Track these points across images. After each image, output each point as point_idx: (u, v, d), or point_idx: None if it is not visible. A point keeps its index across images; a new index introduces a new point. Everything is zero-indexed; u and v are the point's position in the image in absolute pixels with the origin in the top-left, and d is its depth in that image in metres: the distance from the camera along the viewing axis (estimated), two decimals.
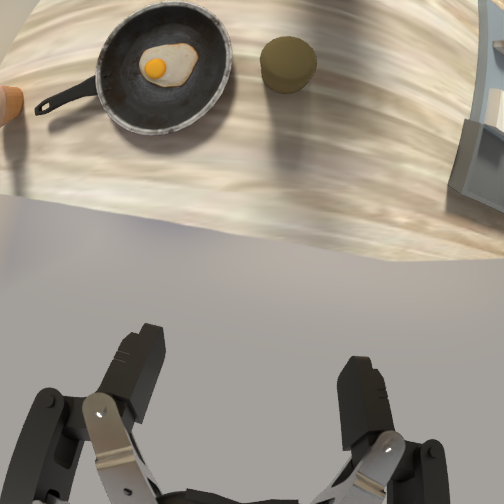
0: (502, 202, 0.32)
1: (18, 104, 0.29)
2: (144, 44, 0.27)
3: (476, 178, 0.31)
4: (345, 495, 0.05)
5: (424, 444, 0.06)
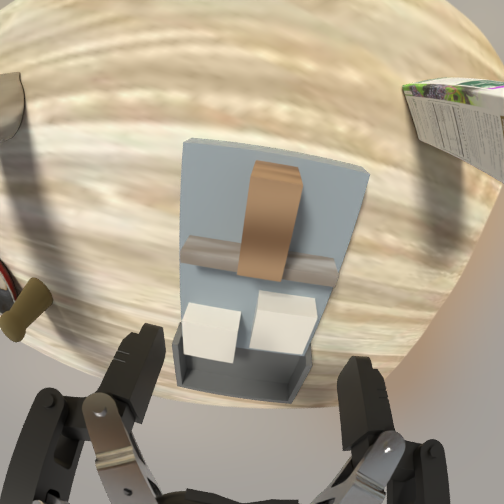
0: (268, 380, 0.41)
1: None
2: None
3: (214, 366, 0.40)
4: (345, 495, 0.05)
5: (424, 444, 0.06)
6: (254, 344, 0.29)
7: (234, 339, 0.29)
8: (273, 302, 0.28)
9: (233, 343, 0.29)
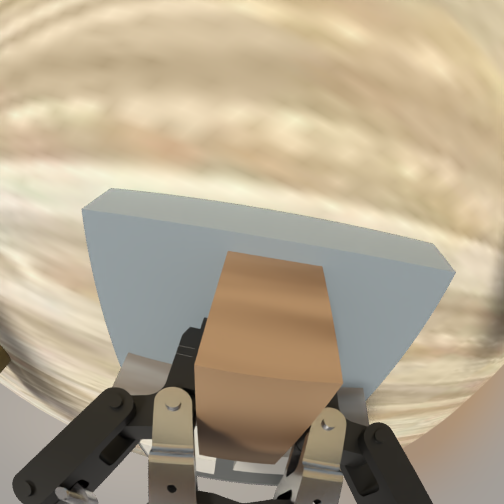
0: None
1: None
2: None
3: None
4: (299, 487, 0.05)
5: (369, 426, 0.07)
6: (239, 469, 0.17)
7: (212, 464, 0.17)
8: None
9: (211, 466, 0.17)
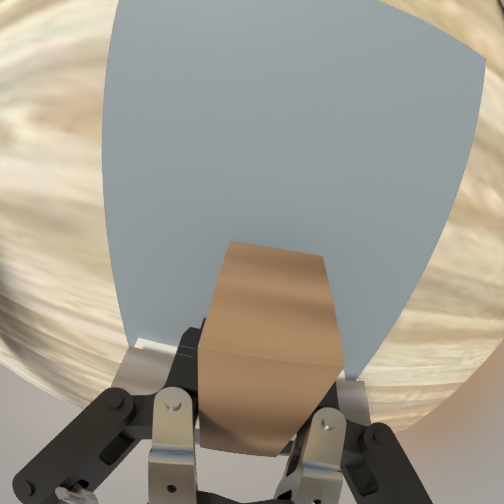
0: None
1: None
2: None
3: None
4: (299, 487, 0.05)
5: (369, 426, 0.07)
6: None
7: None
8: None
9: None
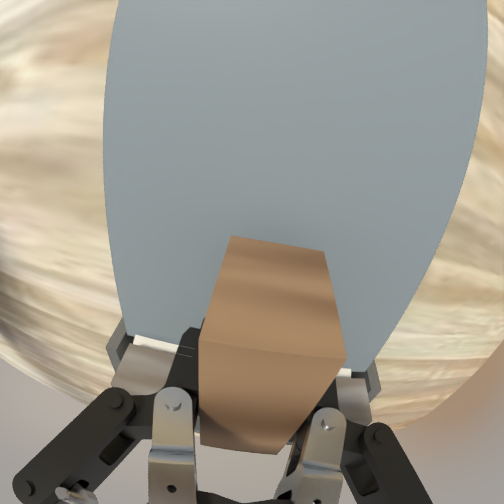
0: None
1: None
2: None
3: None
4: (299, 487, 0.05)
5: (369, 427, 0.07)
6: None
7: None
8: None
9: None
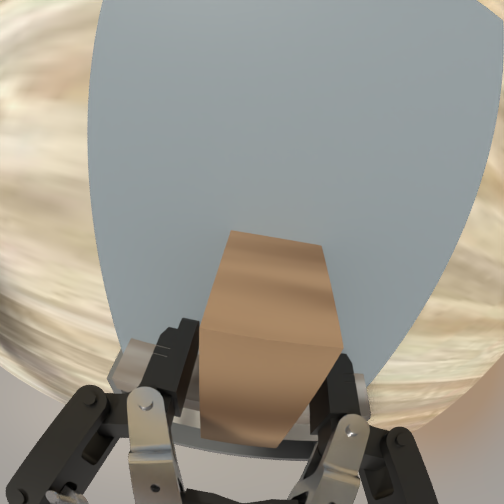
0: None
1: None
2: None
3: None
4: (317, 489, 0.05)
5: (391, 431, 0.07)
6: None
7: None
8: None
9: None
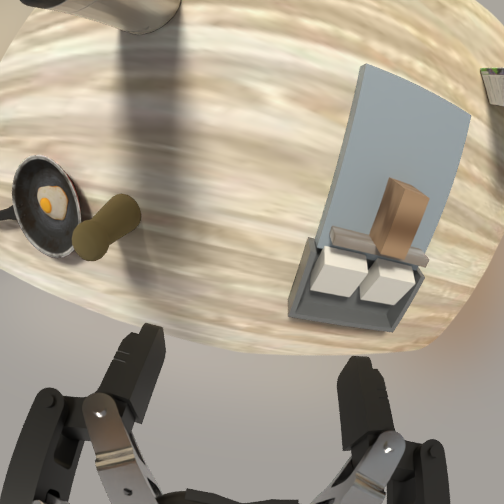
0: (370, 310, 0.42)
1: None
2: (37, 182, 0.37)
3: (325, 293, 0.41)
4: (345, 495, 0.05)
5: (424, 444, 0.06)
6: (365, 297, 0.37)
7: (361, 279, 0.34)
8: (388, 269, 0.34)
9: (359, 282, 0.35)
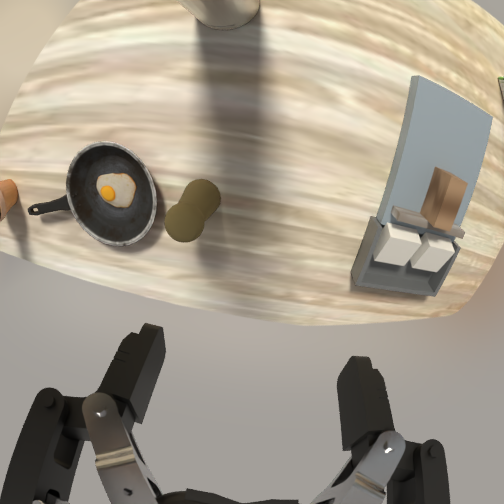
0: (416, 278, 0.46)
1: (14, 196, 0.43)
2: (97, 170, 0.41)
3: (382, 264, 0.46)
4: (345, 495, 0.05)
5: (424, 444, 0.06)
6: (416, 265, 0.41)
7: (416, 249, 0.38)
8: (434, 240, 0.38)
9: (413, 252, 0.39)
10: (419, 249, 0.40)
